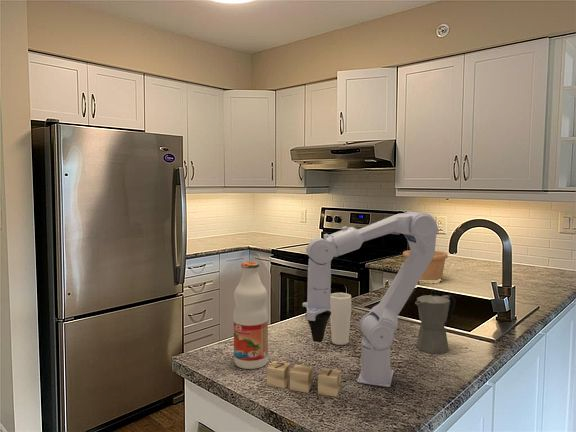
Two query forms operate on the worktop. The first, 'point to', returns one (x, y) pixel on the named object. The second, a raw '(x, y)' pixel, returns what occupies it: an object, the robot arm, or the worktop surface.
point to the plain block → (301, 378)
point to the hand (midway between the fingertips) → (317, 340)
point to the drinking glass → (340, 317)
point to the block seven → (278, 374)
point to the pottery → (432, 266)
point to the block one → (329, 382)
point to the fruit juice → (250, 319)
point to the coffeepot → (434, 322)
